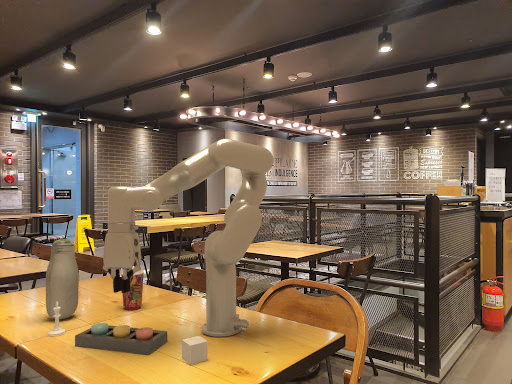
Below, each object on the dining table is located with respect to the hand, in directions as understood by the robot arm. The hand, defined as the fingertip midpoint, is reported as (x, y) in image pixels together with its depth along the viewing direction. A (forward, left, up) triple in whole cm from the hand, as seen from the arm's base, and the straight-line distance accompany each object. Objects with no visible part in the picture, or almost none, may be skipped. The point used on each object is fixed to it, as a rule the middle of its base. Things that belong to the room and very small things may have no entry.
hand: (121, 291), depth 110 cm
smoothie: (+18, -32, -15) cm, 40 cm away
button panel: (0, 0, -15) cm, 15 cm away
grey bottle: (+35, -15, -15) cm, 41 cm away
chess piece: (+25, -2, -15) cm, 29 cm away
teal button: (+8, 0, -13) cm, 15 cm away
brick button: (-7, 0, -13) cm, 15 cm away
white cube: (-25, +4, -15) cm, 30 cm away
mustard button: (0, 0, -13) cm, 13 cm away
